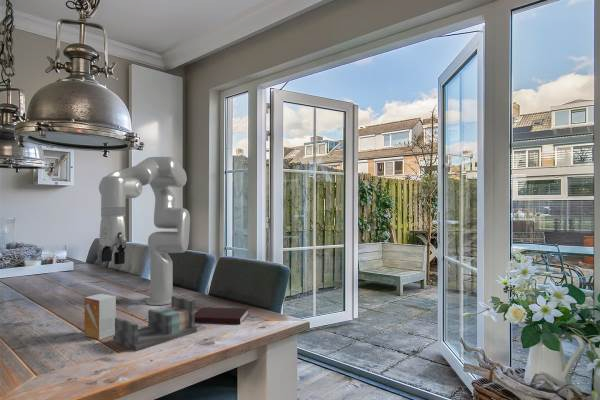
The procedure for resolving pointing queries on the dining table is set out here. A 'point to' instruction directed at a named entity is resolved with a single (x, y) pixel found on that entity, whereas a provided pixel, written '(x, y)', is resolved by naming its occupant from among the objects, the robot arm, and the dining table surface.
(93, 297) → the small box
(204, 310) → the book
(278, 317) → the dining table surface
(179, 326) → the rack
